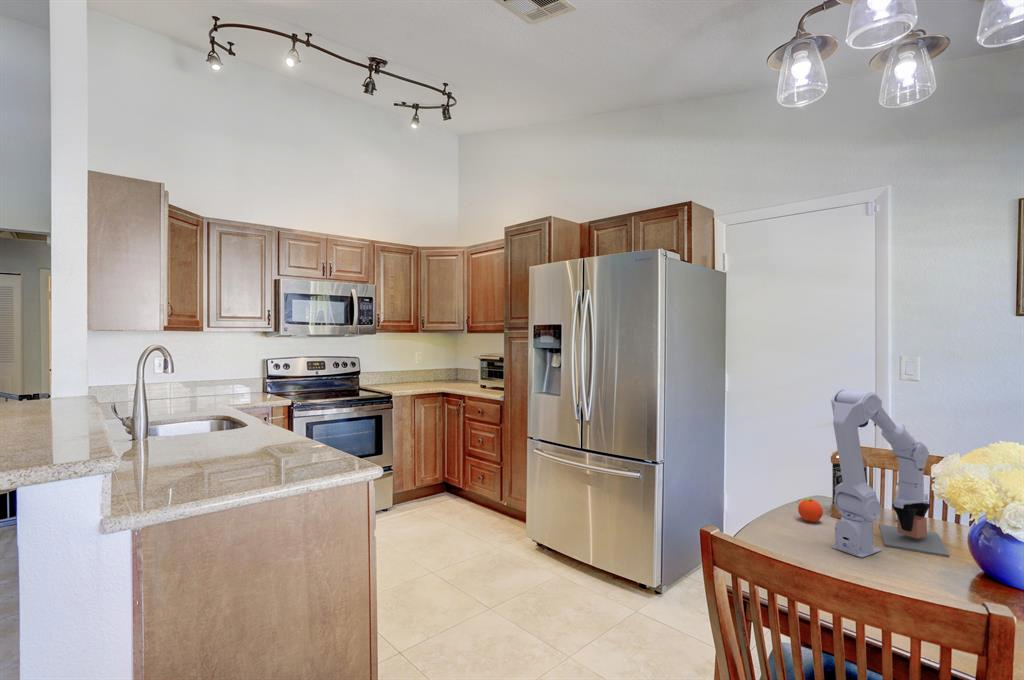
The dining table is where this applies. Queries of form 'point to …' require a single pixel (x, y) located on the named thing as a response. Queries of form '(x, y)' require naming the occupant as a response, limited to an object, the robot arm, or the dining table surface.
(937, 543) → the slate mat
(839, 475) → the whiskey bottle
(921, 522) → the brick cube
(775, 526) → the dining table surface
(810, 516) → the clementine
